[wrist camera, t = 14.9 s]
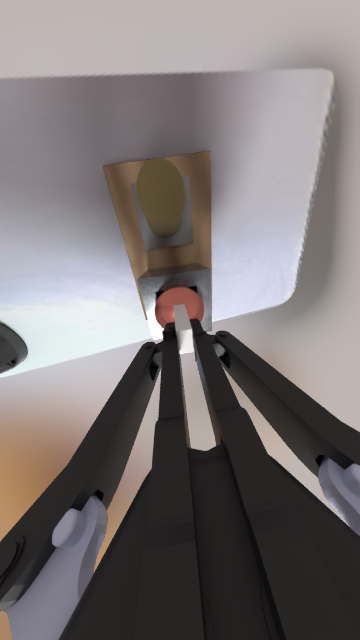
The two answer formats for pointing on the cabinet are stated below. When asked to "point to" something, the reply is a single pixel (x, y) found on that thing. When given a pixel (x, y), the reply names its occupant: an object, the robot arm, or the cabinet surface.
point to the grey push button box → (170, 277)
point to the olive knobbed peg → (161, 196)
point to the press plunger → (176, 297)
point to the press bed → (195, 224)
